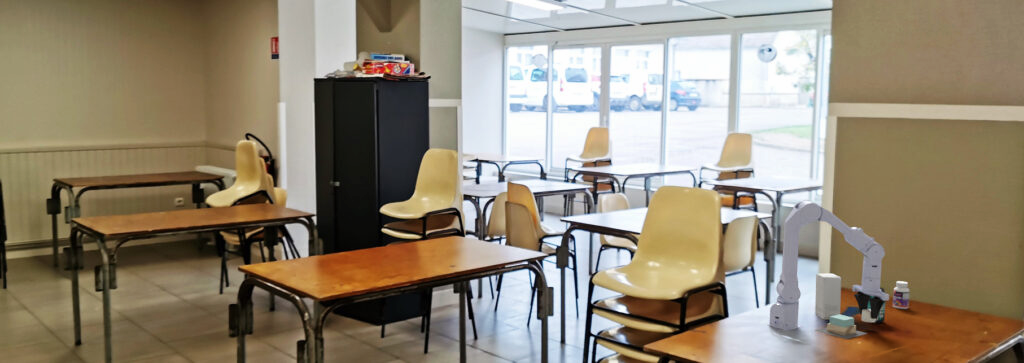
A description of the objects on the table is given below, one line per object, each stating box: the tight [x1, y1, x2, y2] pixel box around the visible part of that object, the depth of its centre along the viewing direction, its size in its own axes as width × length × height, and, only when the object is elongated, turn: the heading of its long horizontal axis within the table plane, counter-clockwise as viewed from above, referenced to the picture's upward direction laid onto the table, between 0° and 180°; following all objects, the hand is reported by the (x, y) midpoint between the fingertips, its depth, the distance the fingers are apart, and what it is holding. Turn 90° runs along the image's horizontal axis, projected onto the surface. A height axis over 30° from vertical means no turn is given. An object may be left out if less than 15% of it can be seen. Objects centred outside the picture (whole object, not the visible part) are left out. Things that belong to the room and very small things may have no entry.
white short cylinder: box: [861, 309, 876, 323], centre depth 281 cm, size 4×4×4 cm
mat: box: [814, 326, 868, 340], centre depth 277 cm, size 12×12×1 cm
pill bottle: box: [892, 280, 910, 310], centre depth 314 cm, size 5×5×10 cm
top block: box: [829, 313, 855, 328], centre depth 277 cm, size 6×6×2 cm
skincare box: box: [814, 272, 842, 320], centre depth 297 cm, size 8×7×16 cm
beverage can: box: [867, 286, 886, 324], centre depth 293 cm, size 7×7×12 cm
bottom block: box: [826, 322, 857, 336], centre depth 277 cm, size 6×6×2 cm
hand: (868, 316), depth 281 cm, fingers closed on white short cylinder, 4 cm apart
